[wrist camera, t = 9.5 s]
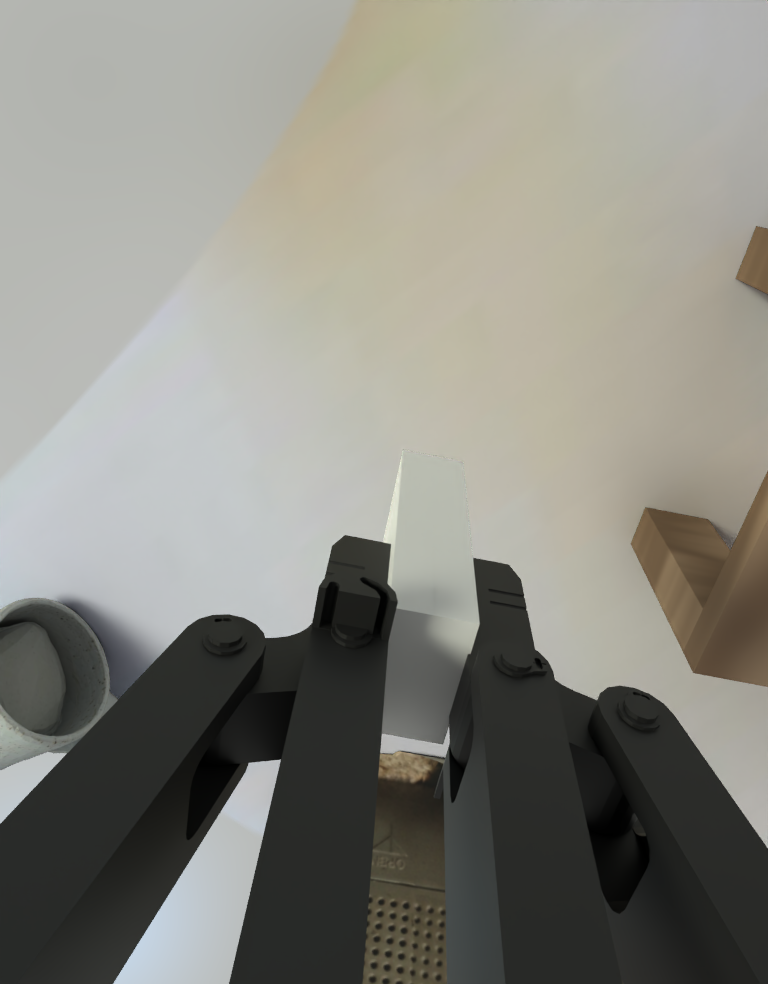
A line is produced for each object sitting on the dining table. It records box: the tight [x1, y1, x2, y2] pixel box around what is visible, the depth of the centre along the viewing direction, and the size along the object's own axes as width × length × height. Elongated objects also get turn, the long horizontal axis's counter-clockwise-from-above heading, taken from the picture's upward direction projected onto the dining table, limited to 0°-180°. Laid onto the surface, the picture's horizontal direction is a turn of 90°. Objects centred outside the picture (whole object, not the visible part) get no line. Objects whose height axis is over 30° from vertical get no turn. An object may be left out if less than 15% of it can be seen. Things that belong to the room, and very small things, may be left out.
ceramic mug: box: [0, 598, 119, 770], centre depth 37 cm, size 10×8×7 cm
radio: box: [363, 751, 623, 984], centre depth 37 cm, size 23×9×15 cm, turn 79°
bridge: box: [631, 226, 768, 687], centre depth 27 cm, size 3×14×9 cm, turn 170°
